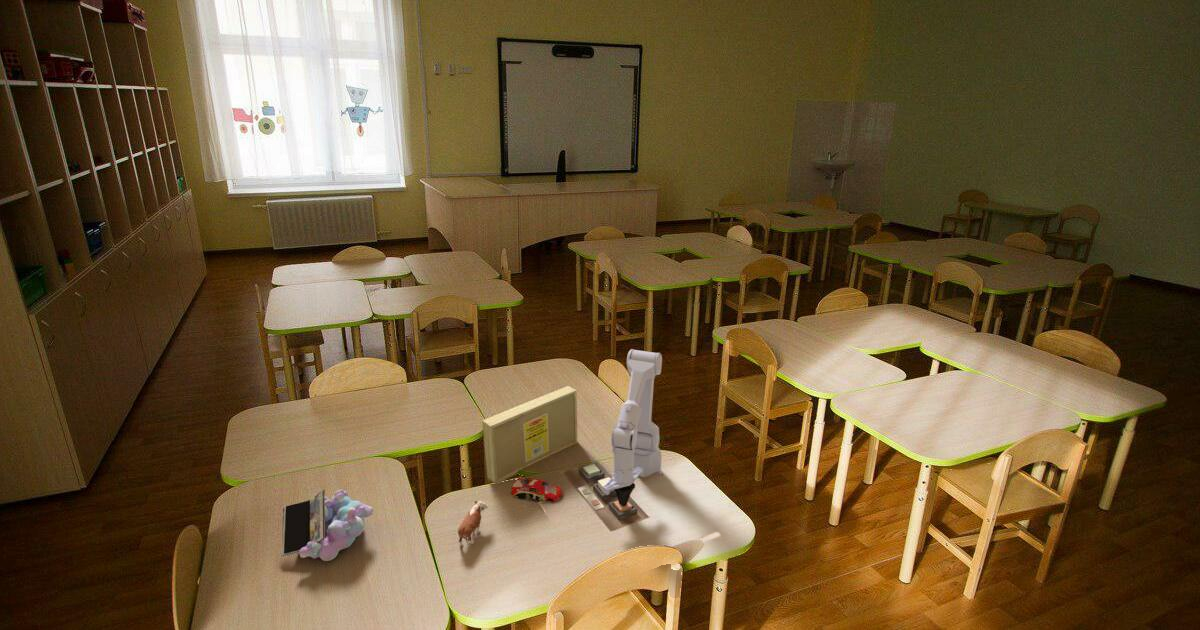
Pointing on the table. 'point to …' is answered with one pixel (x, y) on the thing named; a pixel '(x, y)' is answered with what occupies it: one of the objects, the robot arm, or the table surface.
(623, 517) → the keypad
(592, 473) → the sage key
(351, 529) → the cloud picture frame
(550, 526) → the table surface
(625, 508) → the terracotta key
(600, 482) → the cream key
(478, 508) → the bull figurine
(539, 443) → the beige flat box
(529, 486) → the race car
